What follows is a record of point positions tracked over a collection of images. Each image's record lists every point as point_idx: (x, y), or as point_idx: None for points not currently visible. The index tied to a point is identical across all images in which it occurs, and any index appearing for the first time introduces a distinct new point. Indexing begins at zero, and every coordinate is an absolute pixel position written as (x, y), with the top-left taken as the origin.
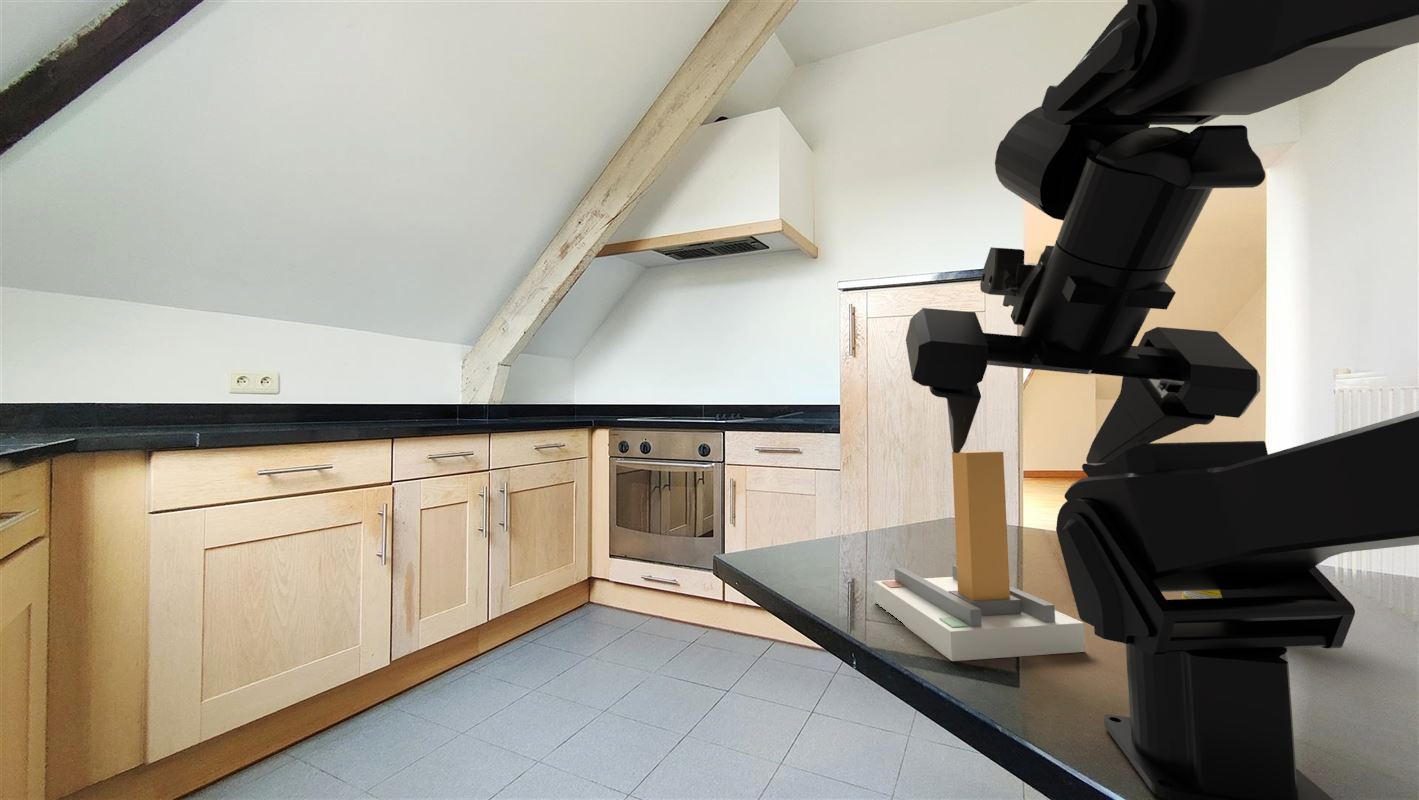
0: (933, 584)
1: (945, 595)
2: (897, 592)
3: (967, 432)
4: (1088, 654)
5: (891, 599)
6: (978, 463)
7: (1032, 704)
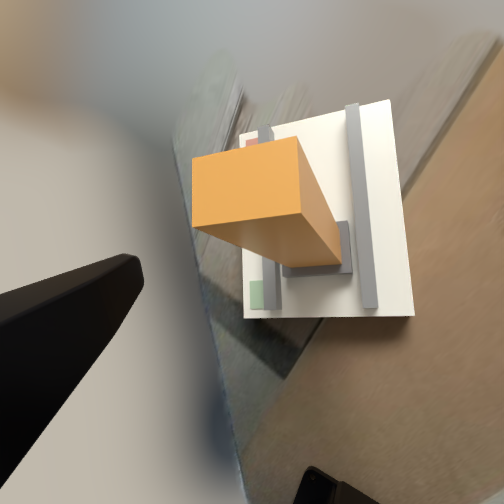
0: None
1: None
2: None
3: (68, 393)
4: (410, 320)
5: None
6: (235, 230)
7: (277, 411)
